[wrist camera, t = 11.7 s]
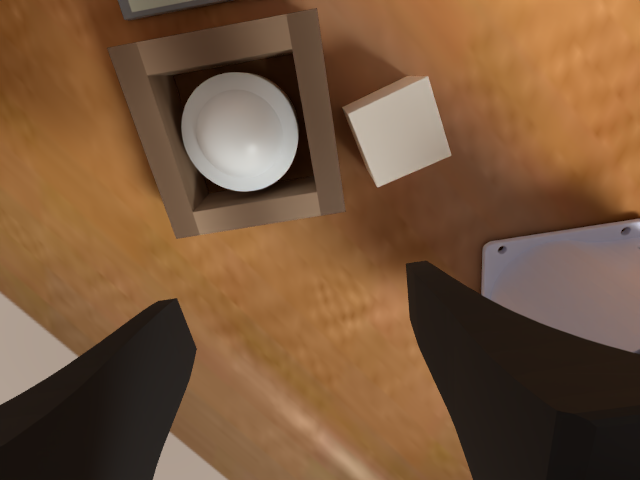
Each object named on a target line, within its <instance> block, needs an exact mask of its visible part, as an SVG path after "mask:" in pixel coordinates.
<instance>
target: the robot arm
mask: <svg viewBox="0 0 640 480" xmlns="http://www.w3.org/2000/svg"><path fill="white" fill-rule="evenodd" d="M624 228H625V229H624ZM623 229H624V231H623V232H621V231H622V230H623ZM501 246H504V247H503V249H502V250H500V251H498V249H499V248H500V247H501ZM406 272H407V286H408V300H409V314H410V321H411V324H412V327H413V330H414V334H415V337H416V340H417V343H418V346H419V348H420V351H421V353H422V355H423V357H424V359H425V362H426V364H427V366H428V368H429V370H430V372H431V375H432V377H433V379H434V381H435V383H436V385H437V388H438V390H439V392H440V394H441V396H442V398H443V400H444V403H445V405H446V407H447V409H448V411H449V414H450V416H451V419H452V421H453V423H454V426H455V428H456V431H457V434H458V437H459V440H460V443H461V446H462V448H463V451H464V454H465V457H466V460H467V463H468V466H469V469H470V472H471V475H472V478H473V480H640V219H633V220H627V221H620V222H614V223H607V224H600V225H594V226H587V227H581V228H574V229H568V230H561V231H555V232H548V233H541V234H535V235H528V236H522V237H515V238H509V239H502V240H496V241H490V242H488V243H486V244H485V245H484V247H483V252H482V286H481V294H479V293H477V292H475V291H474V290H472V289H470V288H469V287H467V286H465V285H464V284H462V283H460V282H459V281H457V280H456V279H454V278H452V277H451V276H449V275H448V274H446V273H445V272H443V271H442V270H440V269H439V268H437V267H435V266H434V265H432V264H431V263H429V262H428V261H420V262H414V263H407V264H406ZM196 350H197V348H196V346H195V343H194V341H193V338H192V336H191V333H190V331H189V328H188V325H187V323H186V320H185V318H184V315H183V313H182V310H181V308H180V305H179V303H178V300H177V298H176V299H169V300H162V301H158V302H156V303H154V304H152V305H151V306H149V307H148V308H146V309H145V310H143V311H142V312H141V313H139V314H138V315H136V316H135V317H134V318H132V319H131V320H129V321H128V322H127V323H125V324H124V325H123V326H121V327H120V328H119V329H117V330H116V331H115V332H113V333H112V334H111V335H109V336H108V337H106V338H105V339H104V340H102V341H101V342H100V343H98V344H97V345H95V346H94V347H92V348H91V349H90V350H88V351H87V352H85V353H84V354H82V355H81V356H80V357H78V358H77V359H75V360H74V361H72V362H71V363H70V364H68V365H67V366H65V367H64V368H62V369H61V370H59V371H58V372H56V373H54V374H53V375H51V376H50V377H48V378H47V379H45V380H43V381H42V382H40V383H38V384H37V385H35V386H33V387H32V388H30V389H28V390H27V391H25V392H23V393H21V394H20V395H18V396H16V397H14V398H13V399H11V400H9V401H7V402H5V403H3V404H1V405H0V480H153V476H154V473H155V469H156V466H157V463H158V460H159V457H160V454H161V451H162V449H163V446H164V443H165V441H166V438H167V436H168V433H169V431H170V428H171V426H172V423H173V421H174V418H175V416H176V413H177V411H178V408H179V406H180V403H181V400H182V398H183V395H184V393H185V390H186V387H187V385H188V382H189V379H190V376H191V372H192V368H193V364H194V359H195V354H196Z"/></svg>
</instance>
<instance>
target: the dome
mask: <svg viewBox="0 0 640 480" xmlns="http://www.w3.org/2000/svg"><path fill="white" fill-rule="evenodd" d="M181 130H182V138H183V142H184V146H185V149H186V151H187V154H188V155H189V157H190V159H191V161H192V162H193V164H194V165H195V167H196V168H197V169H198V170H199V171H200V172H201V173H202V174H203V175H204V176H205V177H206V178H208V179H209V180H210V181H212V182H213V183H215V184H217V185H219V186H221V187H224V188H226V189H230V190H235V191H255V190H259V189H263V188H265V187H268V186H269V185H271V184H273V183H275V182H276V181H277V180H279V179H280V178H281V177H282V176H283V175H284V174H285V173H286V171H287V170H288V169H289V167H290V165H291V164H292V162H293V159H294V157H295V154H296V150H297V145H298V140H299V121H298V117H297V113H296V111H295V108H294V106H293V104H292V102H291V100H290V99H289V97H288V96H287V94H286V93H285V92H284V91H283V90H282V89H281V88H280V87H279V86H278V85H276V84H275V83H274V82H272V81H271V80H269V79H267V78H265V77H263V76H260V75H257V74H252V73H241V72H230V73H223V74H219V75H216V76H214V77H211V78H209V79H208V80H206V81H204V82H203V83H202V84H200V85H199V86H198V87H197V88H196V89H195V90H194V92H193V93H192V94H191V96H190V97H189V99H188V101H187V103H186V105H185V108H184V111H183V115H182V124H181Z"/></svg>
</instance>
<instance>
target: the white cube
mask: <svg viewBox="0 0 640 480" xmlns="http://www.w3.org/2000/svg"><path fill="white" fill-rule="evenodd" d="M342 109H343V111H344V114H345V116H346V119H347V121H348V124H349V126H350V129H351V131H352V134H353V136H354V139H355V141H356V144H357V146H358V148H359V151H360V153H361V156H362V158H363V161H364V163H365V166H366V168H367V170H368V172H369V174H370V176H371V177H372V179H373V181H374V183H375V184H376V186H377V188H378V187H380V186H382V185H385V184H387V183H389V182H392V181H394V180H396V179H399V178H401V177H403V176H406V175H408V174H410V173H412V172H415V171H417V170H419V169H422V168H424V167H426V166H429V165H431V164H433V163H436V162H438V161H440V160H442V159H445V158H447V157H449V156H452V155H451V152H450V149H449V145H448V142H447V138H446V135H445V132H444V128H443V125H442V122H441V118H440V115H439V112H438V108H437V105H436V101H435V98H434V95H433V91H432V88H431V85H430V81H429V78H428V76H406V77H404V78H402V79H400V80H398V81H396V82H394V83H392V84H389V85H387V86H385V87H383V88H381V89H379V90H377V91H375V92H373V93H371V94H369V95H366V96H364V97H362V98H360V99H358V100H356V101H354V102H352V103H350V104H348V105H346V106H344V107H342Z"/></svg>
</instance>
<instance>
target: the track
mask: <svg viewBox="0 0 640 480" xmlns="http://www.w3.org/2000/svg"><path fill="white" fill-rule="evenodd" d="M228 1H233V0H118V2H119V5H120V8H121V11H122V14H123V17H124V19H125V20H128V21H129V20H134V19H139V18H144V17H150V16H155V15H160V14H165V13H170V12H176V11H181V10H186V9H191V8H196V7H202V6H207V5H212V4H217V3H222V2H228Z"/></svg>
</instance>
